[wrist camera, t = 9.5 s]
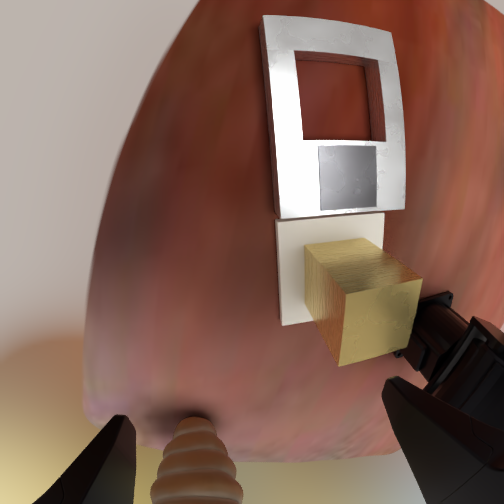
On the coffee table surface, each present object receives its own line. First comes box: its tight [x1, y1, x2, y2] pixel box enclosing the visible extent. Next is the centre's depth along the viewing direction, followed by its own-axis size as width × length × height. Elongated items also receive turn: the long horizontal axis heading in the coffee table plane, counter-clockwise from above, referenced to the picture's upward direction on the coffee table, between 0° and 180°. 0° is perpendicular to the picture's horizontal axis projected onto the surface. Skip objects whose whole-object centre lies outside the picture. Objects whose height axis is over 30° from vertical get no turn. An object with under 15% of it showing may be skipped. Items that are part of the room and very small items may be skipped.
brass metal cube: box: [304, 238, 423, 367], centre depth 17 cm, size 5×5×7 cm
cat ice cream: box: [150, 417, 243, 504], centre depth 17 cm, size 9×8×18 cm
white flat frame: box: [258, 15, 406, 219], centre depth 16 cm, size 9×13×2 cm
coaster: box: [275, 211, 384, 326], centre depth 20 cm, size 8×8×1 cm
